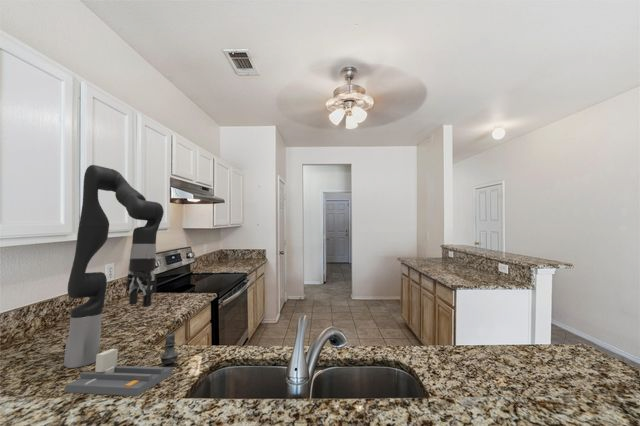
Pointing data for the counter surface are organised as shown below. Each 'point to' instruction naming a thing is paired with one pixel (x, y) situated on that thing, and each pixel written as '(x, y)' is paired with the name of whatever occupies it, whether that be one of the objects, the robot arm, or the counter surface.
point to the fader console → (119, 380)
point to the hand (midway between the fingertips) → (139, 305)
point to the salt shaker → (169, 351)
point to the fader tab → (106, 361)
